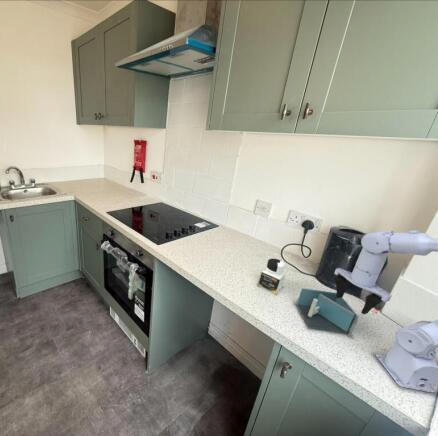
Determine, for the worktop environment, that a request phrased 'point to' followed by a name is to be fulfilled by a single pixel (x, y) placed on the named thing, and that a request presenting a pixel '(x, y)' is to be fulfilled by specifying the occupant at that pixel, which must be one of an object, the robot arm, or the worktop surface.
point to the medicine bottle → (273, 275)
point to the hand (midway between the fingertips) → (351, 304)
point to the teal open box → (316, 319)
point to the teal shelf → (332, 312)
